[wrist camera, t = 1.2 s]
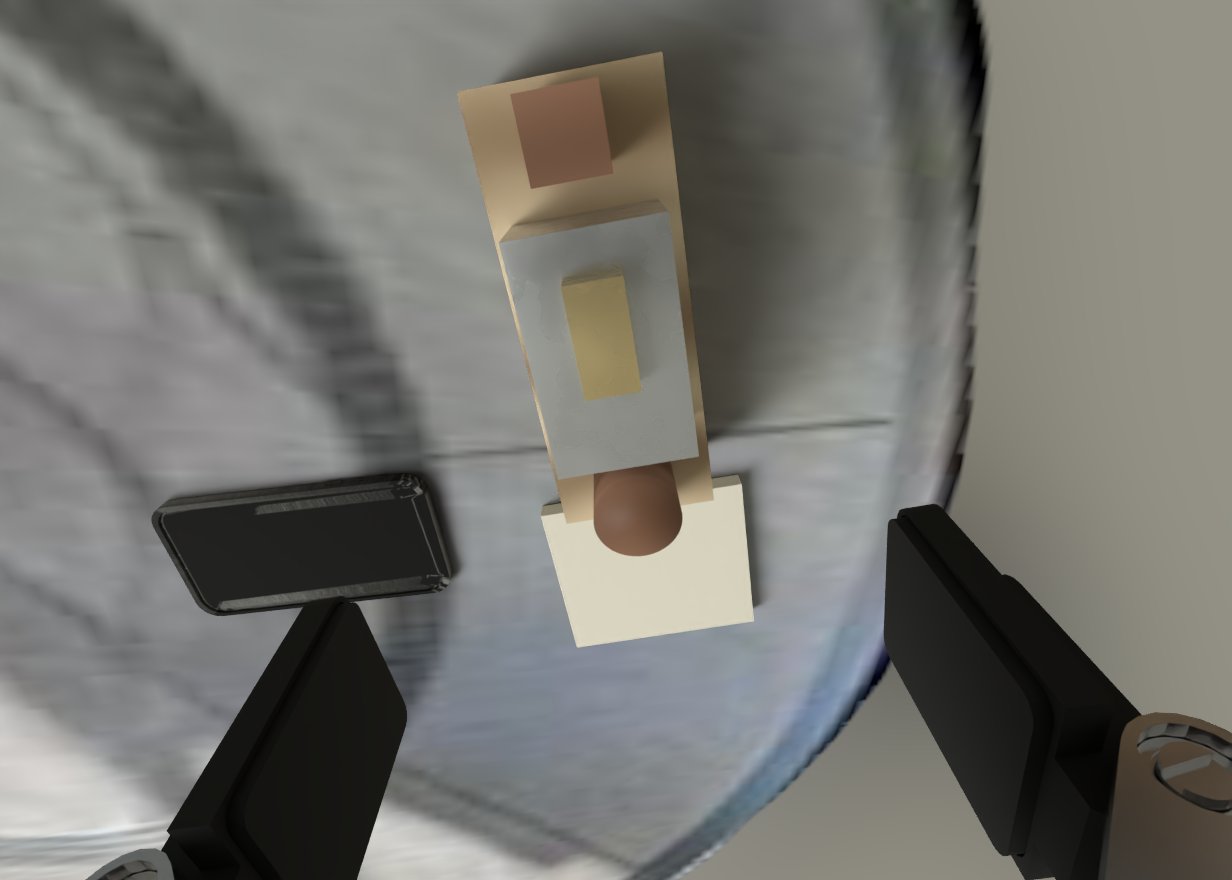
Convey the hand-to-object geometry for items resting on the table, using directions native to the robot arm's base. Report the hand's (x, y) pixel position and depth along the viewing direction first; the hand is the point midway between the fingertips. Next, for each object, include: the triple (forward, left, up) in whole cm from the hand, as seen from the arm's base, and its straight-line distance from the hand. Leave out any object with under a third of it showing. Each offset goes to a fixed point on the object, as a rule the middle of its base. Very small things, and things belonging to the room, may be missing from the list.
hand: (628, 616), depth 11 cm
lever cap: (0, 0, -16) cm, 16 cm away
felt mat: (+16, 0, -21) cm, 26 cm away
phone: (+11, -19, -21) cm, 31 cm away
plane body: (0, 0, -21) cm, 21 cm away
